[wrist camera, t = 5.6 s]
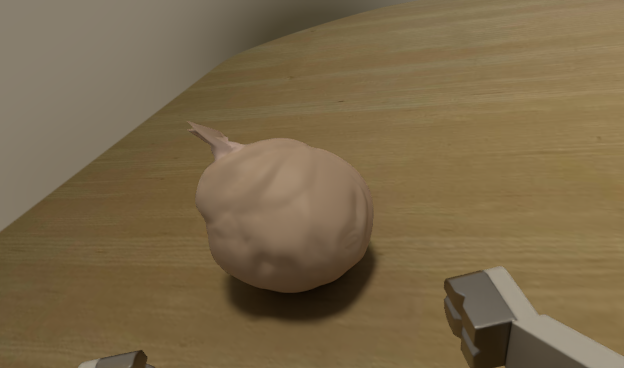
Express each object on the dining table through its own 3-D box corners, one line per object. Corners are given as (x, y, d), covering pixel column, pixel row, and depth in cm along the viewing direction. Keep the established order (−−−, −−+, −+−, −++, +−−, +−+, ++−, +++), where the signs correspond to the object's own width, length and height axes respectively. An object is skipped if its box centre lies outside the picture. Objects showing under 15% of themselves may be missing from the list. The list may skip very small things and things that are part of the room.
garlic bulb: (304, 206, 23) (271, 69, 19) (402, 252, 19) (389, 90, 15) (209, 283, 20) (139, 137, 15) (303, 358, 16) (246, 190, 11)
